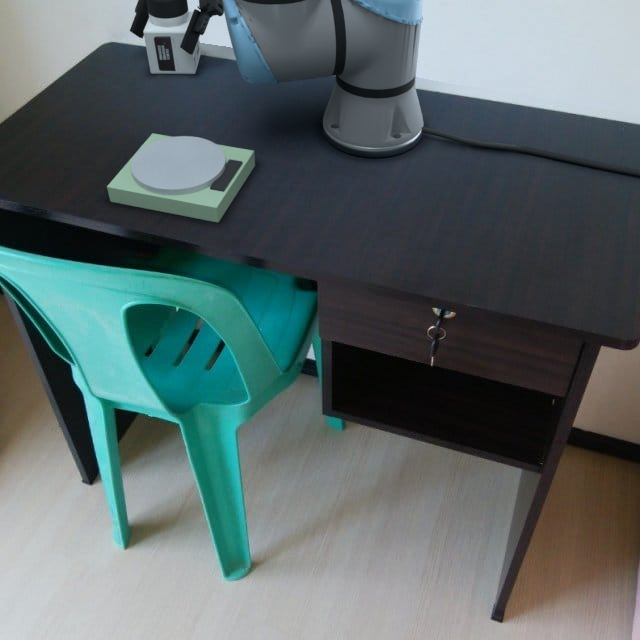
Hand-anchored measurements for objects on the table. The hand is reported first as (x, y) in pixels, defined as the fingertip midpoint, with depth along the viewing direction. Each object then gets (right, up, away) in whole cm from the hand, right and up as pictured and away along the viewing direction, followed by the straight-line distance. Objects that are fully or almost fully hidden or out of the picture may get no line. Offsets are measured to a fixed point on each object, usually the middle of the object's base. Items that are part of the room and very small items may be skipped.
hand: (160, 42), depth 125 cm
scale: (+8, -27, -19) cm, 34 cm away
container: (+2, -2, +5) cm, 6 cm away
